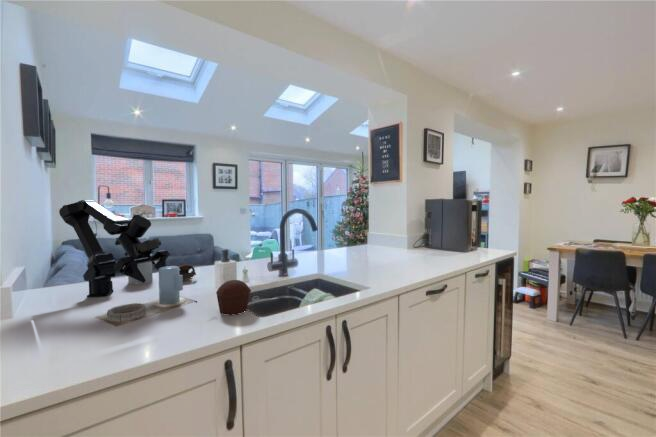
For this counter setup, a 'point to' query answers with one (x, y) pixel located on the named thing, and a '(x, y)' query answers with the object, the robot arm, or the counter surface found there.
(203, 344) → the counter surface
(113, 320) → the tan flat slab
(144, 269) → the tall grey pillar block
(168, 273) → the pale blue cylinder
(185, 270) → the pottery mug
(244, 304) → the muffin
